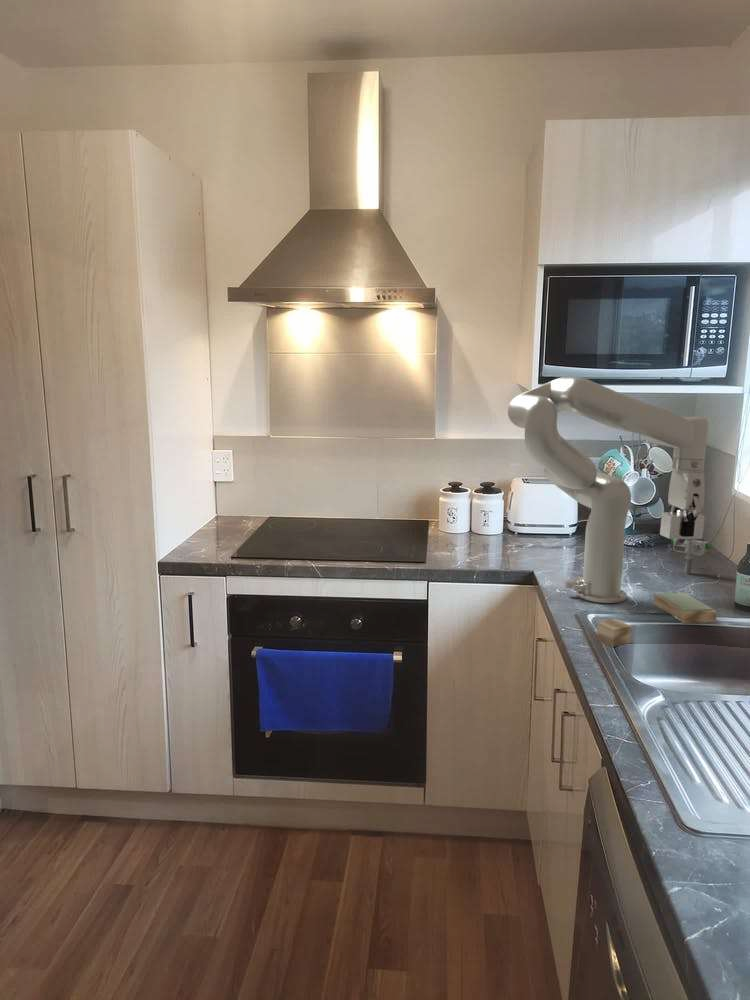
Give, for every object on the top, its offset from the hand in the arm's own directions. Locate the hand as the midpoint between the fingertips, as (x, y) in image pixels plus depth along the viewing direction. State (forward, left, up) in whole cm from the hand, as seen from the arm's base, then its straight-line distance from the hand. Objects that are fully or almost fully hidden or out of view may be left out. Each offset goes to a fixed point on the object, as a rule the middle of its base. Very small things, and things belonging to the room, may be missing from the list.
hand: (681, 533), depth 187 cm
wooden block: (-7, -16, -16) cm, 24 cm away
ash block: (-32, -32, -16) cm, 48 cm away
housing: (0, 0, -1) cm, 1 cm away
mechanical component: (+12, +16, -16) cm, 26 cm away
